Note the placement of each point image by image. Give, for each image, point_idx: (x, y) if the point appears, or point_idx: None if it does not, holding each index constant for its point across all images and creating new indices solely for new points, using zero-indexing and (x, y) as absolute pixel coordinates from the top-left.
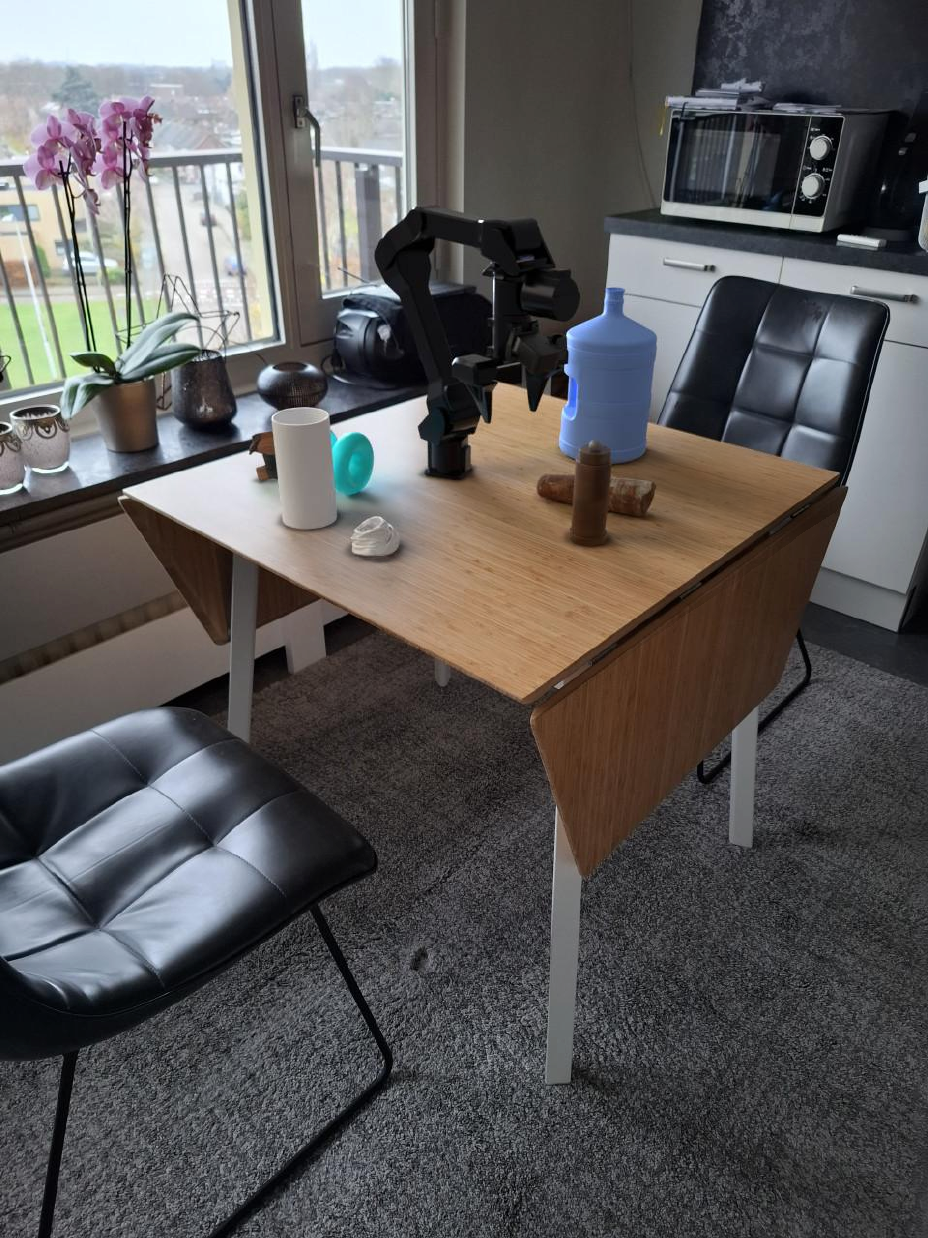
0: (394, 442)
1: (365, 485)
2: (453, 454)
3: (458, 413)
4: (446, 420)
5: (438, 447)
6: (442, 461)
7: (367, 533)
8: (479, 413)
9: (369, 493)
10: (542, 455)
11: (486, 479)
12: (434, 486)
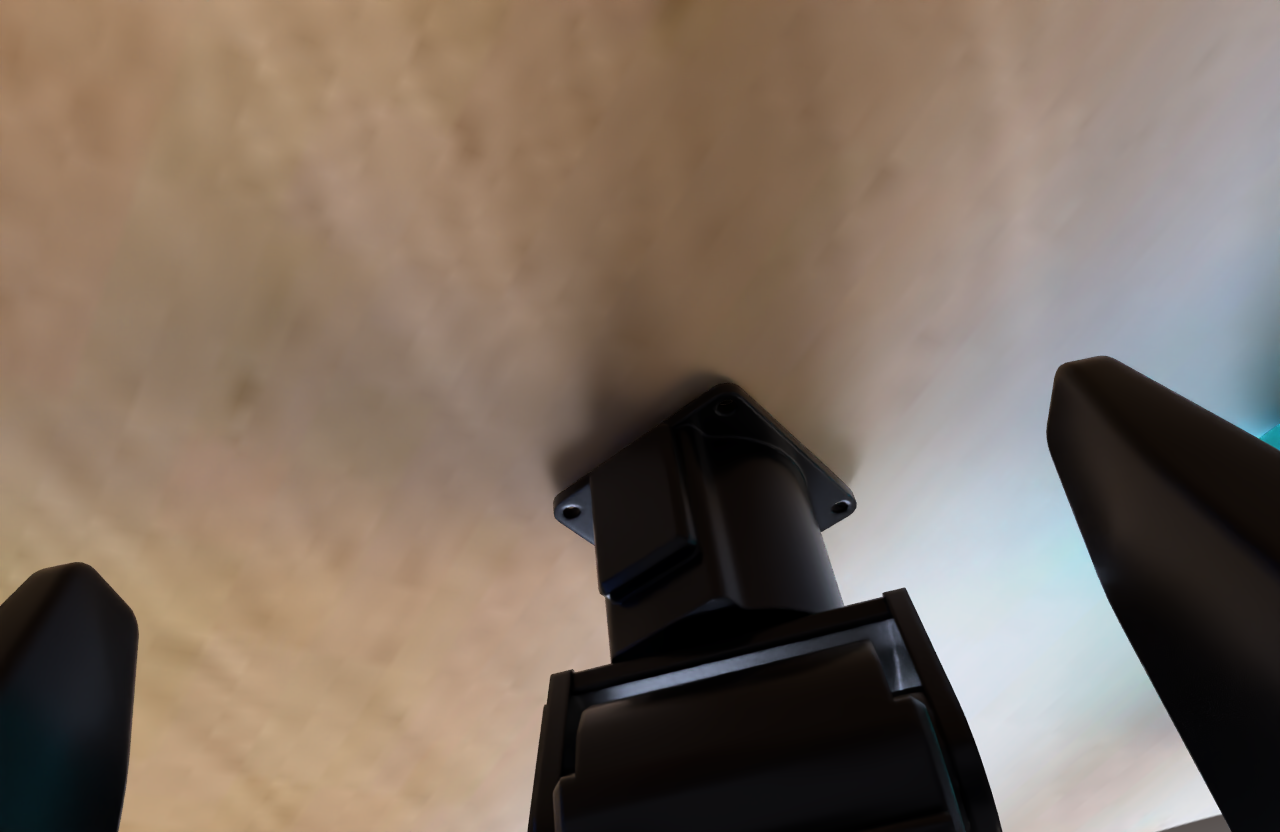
0: None
1: (1267, 439)
2: (749, 533)
3: (852, 791)
4: (946, 738)
5: (839, 599)
6: (804, 513)
7: None
8: (588, 792)
9: (1258, 386)
10: (22, 520)
11: (550, 328)
12: (905, 347)
